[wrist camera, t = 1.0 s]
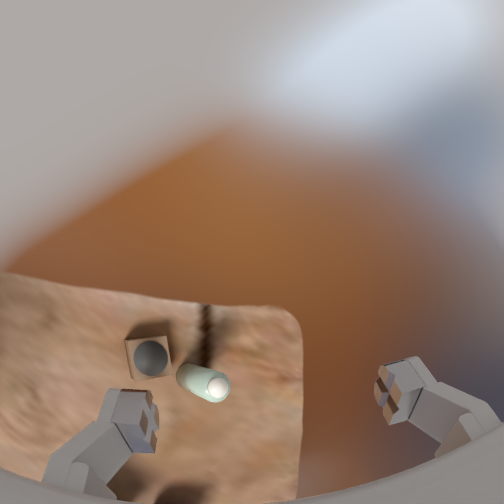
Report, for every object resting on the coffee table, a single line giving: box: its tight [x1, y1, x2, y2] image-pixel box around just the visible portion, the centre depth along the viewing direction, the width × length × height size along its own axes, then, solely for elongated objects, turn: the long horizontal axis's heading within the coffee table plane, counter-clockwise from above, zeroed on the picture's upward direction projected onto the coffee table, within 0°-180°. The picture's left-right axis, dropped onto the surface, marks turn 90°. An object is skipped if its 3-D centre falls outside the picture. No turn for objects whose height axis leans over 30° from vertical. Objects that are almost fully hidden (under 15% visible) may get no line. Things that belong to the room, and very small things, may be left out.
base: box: [124, 335, 173, 381], centre depth 43 cm, size 6×6×3 cm
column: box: [176, 363, 230, 402], centre depth 42 cm, size 4×4×11 cm
